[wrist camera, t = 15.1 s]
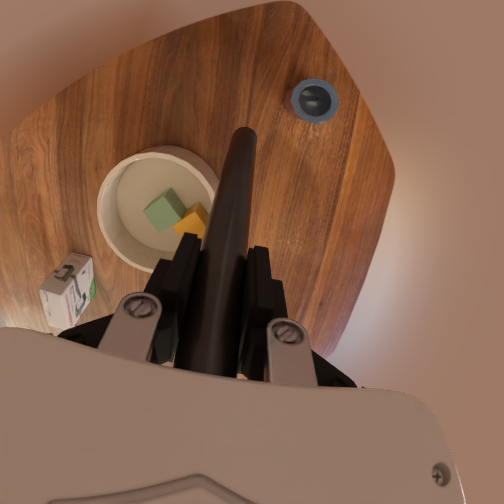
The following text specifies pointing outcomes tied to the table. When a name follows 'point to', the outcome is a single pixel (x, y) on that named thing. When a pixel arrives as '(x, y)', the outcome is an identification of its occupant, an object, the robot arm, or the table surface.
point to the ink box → (68, 291)
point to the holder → (311, 100)
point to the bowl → (142, 193)
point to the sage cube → (165, 210)
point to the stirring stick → (221, 269)
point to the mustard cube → (193, 221)
